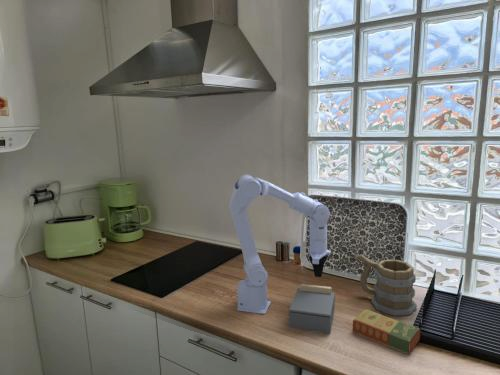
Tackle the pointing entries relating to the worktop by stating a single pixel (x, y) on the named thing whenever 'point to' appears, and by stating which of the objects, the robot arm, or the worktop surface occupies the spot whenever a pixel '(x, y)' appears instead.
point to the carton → (387, 331)
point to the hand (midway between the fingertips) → (318, 276)
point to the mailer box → (311, 321)
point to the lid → (313, 300)
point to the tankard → (390, 285)
